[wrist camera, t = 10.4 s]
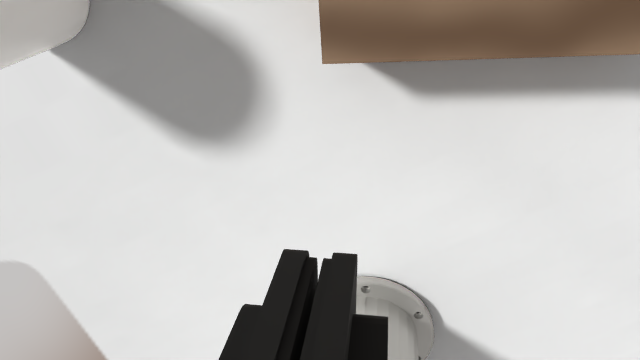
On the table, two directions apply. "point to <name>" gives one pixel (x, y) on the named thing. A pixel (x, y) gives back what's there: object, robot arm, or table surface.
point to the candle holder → (37, 26)
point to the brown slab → (475, 29)
